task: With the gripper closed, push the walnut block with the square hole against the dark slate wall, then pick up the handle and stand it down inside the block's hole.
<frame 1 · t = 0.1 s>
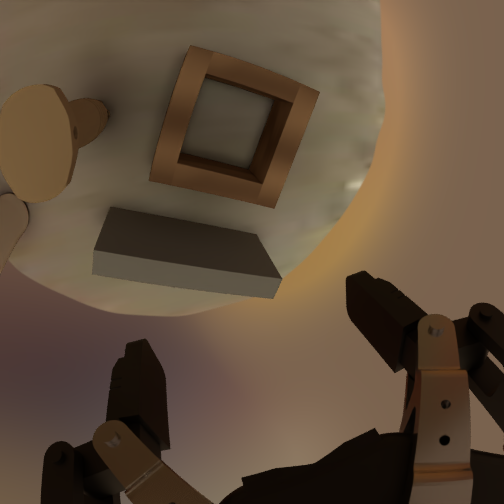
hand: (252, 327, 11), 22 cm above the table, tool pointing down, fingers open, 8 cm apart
drinking glass: (12, 212, 25), on the table
walnut block: (225, 123, 28), on the table
slate wall: (183, 230, 32), on the table
handle: (95, 116, 24), on the table
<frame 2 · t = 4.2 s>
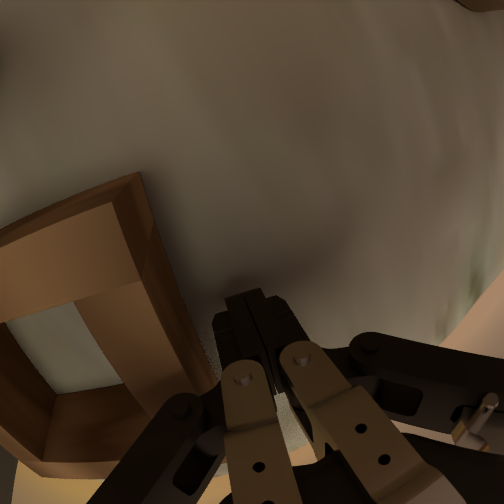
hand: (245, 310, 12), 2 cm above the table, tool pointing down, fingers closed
walnut block: (72, 333, 12), on the table, touching gripper
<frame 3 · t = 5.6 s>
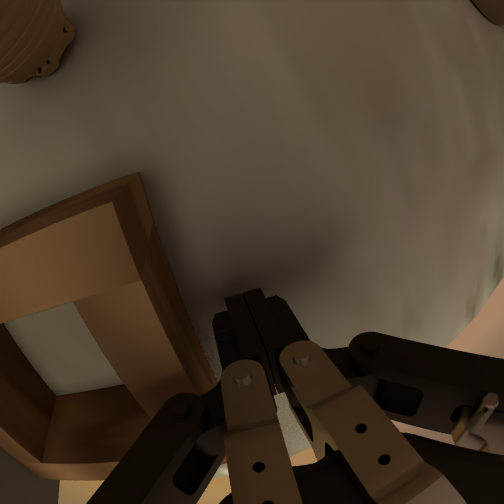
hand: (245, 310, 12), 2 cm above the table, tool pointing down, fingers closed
walnut block: (71, 334, 12), on the table, touching gripper
handle: (43, 48, 7), on the table
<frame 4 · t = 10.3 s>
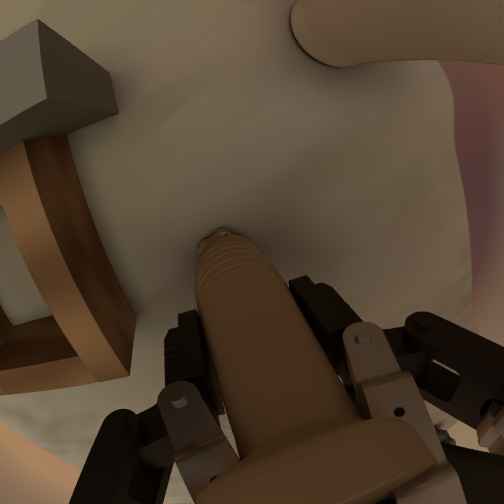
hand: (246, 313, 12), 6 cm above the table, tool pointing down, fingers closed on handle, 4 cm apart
drinking glass: (327, 30, 13), on the table
walnut block: (22, 264, 14), on the table
handle: (222, 251, 17), on the table, touching gripper
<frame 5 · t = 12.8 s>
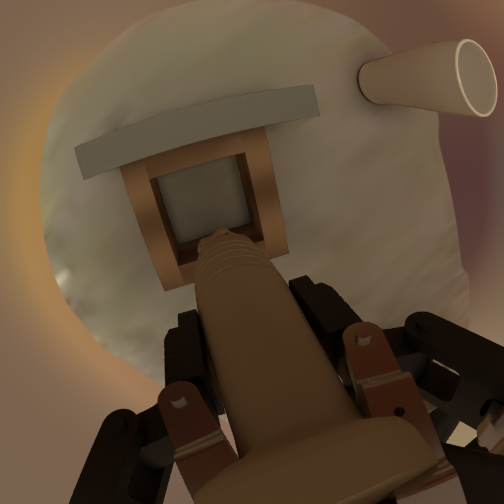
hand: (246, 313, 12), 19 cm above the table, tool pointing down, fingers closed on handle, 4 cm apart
drinking glass: (373, 83, 28), on the table
walnut block: (204, 197, 29), on the table
slate wall: (192, 125, 26), on the table
handle: (223, 250, 17), point 13 cm above the table, touching gripper
when the fingers open (7 cm above the table, at t = 15.4 s): handle stays where it is, resting in walnut block.
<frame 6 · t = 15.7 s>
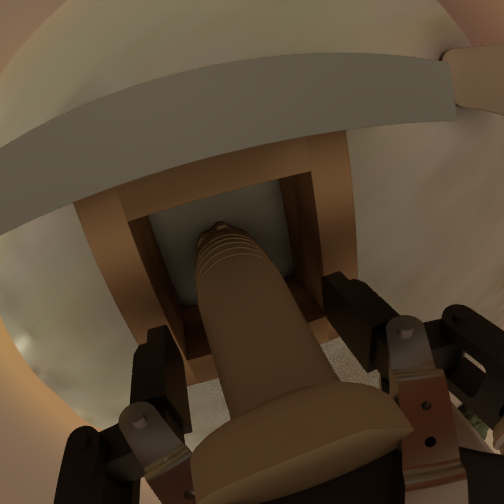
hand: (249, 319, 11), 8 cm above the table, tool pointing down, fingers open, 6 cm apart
vegetable: (452, 416, 49), on the table
drinking glass: (454, 78, 17), on the table
walnut block: (224, 238, 18), on the table
slate wall: (206, 117, 15), on the table
handle: (221, 244, 18), resting in walnut block
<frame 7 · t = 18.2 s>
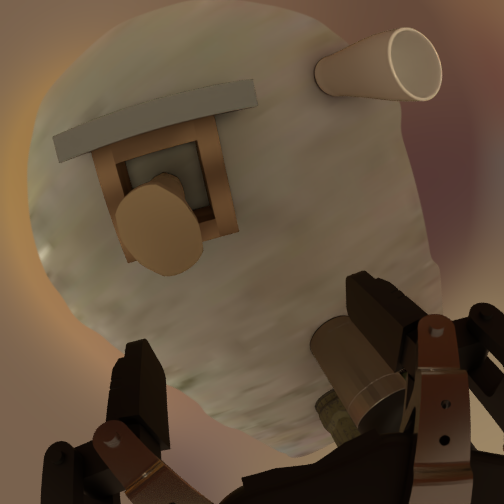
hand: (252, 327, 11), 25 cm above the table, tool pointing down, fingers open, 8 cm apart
drinking glass: (331, 76, 31), on the table
walnut block: (167, 181, 31), on the table
slate wall: (157, 118, 28), on the table
handle: (166, 185, 32), resting in walnut block
thermos: (332, 398, 57), on the table
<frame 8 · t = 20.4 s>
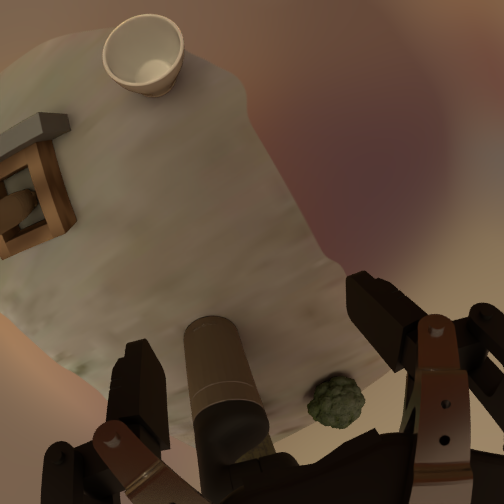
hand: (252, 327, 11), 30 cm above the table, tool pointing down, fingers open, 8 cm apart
vegetable: (327, 388, 63), on the table
drinking glass: (155, 78, 31), on the table
walnut block: (30, 196, 32), on the table
slate wall: (19, 147, 29), on the table
handle: (30, 199, 32), resting in walnut block
thermos: (238, 402, 57), on the table
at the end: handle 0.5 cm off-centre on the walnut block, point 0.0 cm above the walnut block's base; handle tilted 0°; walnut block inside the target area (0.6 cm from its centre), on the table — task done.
